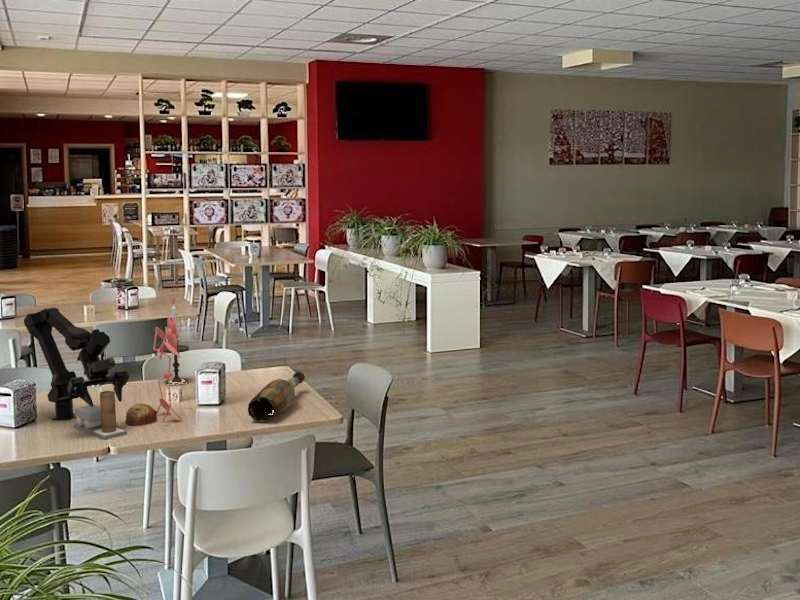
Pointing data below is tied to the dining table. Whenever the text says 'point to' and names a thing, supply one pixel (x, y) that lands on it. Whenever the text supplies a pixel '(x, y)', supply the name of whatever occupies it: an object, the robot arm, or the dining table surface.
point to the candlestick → (179, 349)
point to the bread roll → (140, 415)
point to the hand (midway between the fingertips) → (106, 403)
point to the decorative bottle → (274, 398)
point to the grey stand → (93, 422)
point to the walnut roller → (108, 411)
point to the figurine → (172, 346)
